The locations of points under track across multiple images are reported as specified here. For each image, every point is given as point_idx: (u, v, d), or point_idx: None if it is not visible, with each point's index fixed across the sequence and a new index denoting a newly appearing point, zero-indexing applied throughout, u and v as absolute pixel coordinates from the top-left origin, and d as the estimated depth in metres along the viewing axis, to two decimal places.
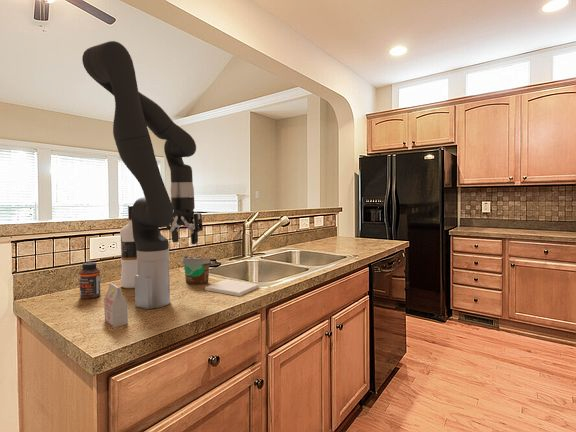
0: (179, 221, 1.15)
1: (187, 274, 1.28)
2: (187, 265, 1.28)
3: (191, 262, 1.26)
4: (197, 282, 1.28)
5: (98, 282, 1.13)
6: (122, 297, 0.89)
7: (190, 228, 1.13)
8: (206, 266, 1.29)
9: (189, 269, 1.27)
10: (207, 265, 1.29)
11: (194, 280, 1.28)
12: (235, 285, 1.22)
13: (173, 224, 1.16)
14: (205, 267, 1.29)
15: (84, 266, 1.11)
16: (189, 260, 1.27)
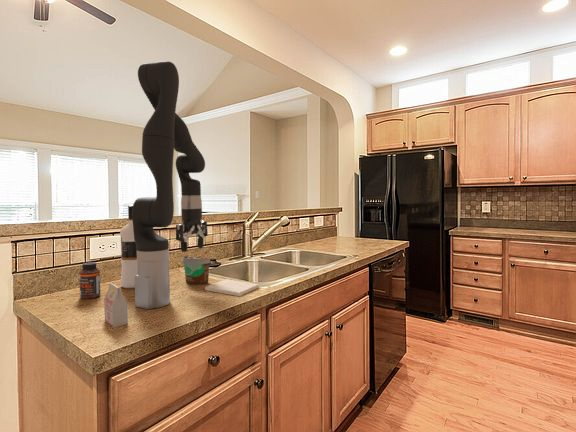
0: (192, 230, 1.27)
1: (187, 274, 1.28)
2: (187, 265, 1.28)
3: (191, 262, 1.26)
4: (197, 282, 1.28)
5: (98, 282, 1.13)
6: (122, 297, 0.89)
7: (202, 234, 1.32)
8: (206, 266, 1.29)
9: (189, 269, 1.27)
10: (207, 265, 1.29)
11: (194, 280, 1.28)
12: (235, 285, 1.22)
13: (189, 234, 1.25)
14: (205, 267, 1.29)
15: (84, 266, 1.11)
16: (189, 260, 1.27)
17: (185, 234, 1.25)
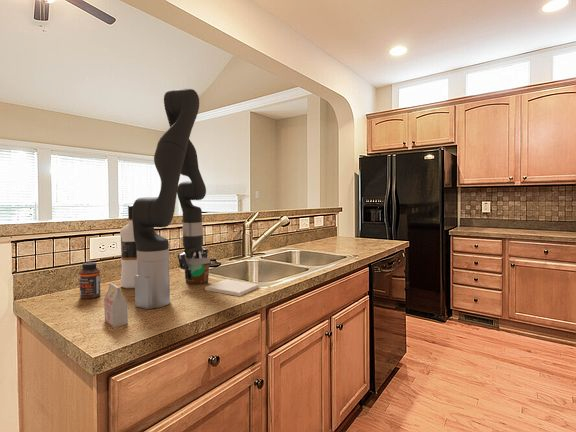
0: None
1: None
2: (187, 265, 1.28)
3: (191, 262, 1.26)
4: (197, 282, 1.28)
5: (98, 282, 1.13)
6: (122, 297, 0.89)
7: None
8: (206, 266, 1.29)
9: None
10: (207, 265, 1.29)
11: (194, 280, 1.28)
12: (235, 285, 1.22)
13: None
14: (205, 267, 1.29)
15: (84, 266, 1.11)
16: (189, 260, 1.27)
17: None
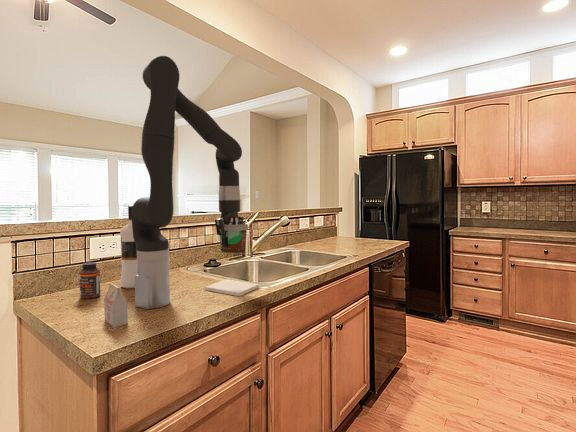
0: None
1: None
2: None
3: (228, 228, 1.18)
4: (234, 250, 1.19)
5: (98, 282, 1.13)
6: (122, 297, 0.89)
7: None
8: (243, 233, 1.20)
9: None
10: (244, 232, 1.21)
11: (231, 248, 1.19)
12: (235, 285, 1.22)
13: None
14: (243, 234, 1.20)
15: (84, 266, 1.11)
16: (226, 226, 1.18)
17: None
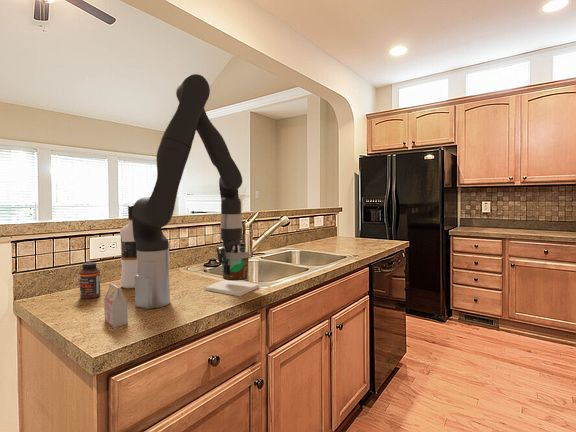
0: None
1: None
2: None
3: (230, 256, 1.18)
4: (236, 278, 1.20)
5: (98, 282, 1.13)
6: (122, 297, 0.89)
7: None
8: (245, 261, 1.21)
9: None
10: (246, 260, 1.21)
11: (233, 276, 1.19)
12: (235, 285, 1.22)
13: None
14: (245, 262, 1.20)
15: (84, 266, 1.11)
16: (228, 254, 1.19)
17: None
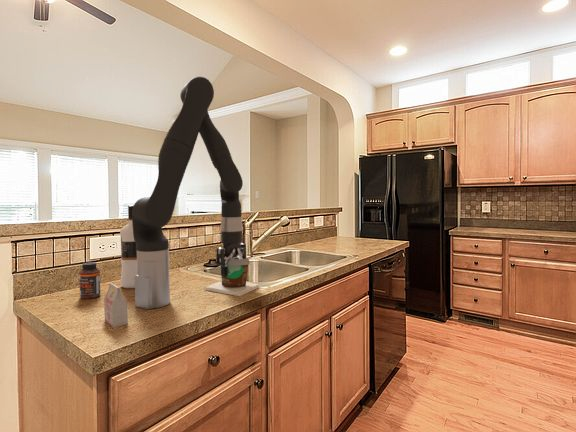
0: None
1: None
2: None
3: (230, 262, 1.18)
4: (235, 285, 1.19)
5: (98, 282, 1.13)
6: (122, 297, 0.89)
7: (241, 258, 1.24)
8: (245, 268, 1.20)
9: None
10: (246, 267, 1.20)
11: (232, 282, 1.19)
12: None
13: (230, 258, 1.18)
14: (244, 268, 1.20)
15: (84, 266, 1.11)
16: None
17: (225, 258, 1.18)
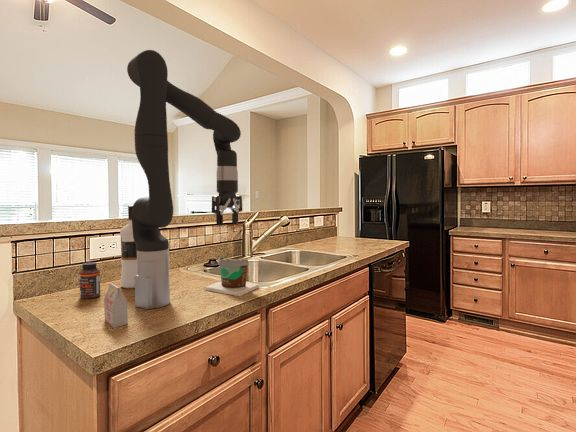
0: None
1: (224, 277, 1.19)
2: (224, 267, 1.19)
3: (229, 264, 1.17)
4: (235, 285, 1.19)
5: (98, 282, 1.13)
6: (122, 297, 0.89)
7: (237, 209, 1.25)
8: (244, 268, 1.20)
9: (226, 272, 1.18)
10: (245, 267, 1.20)
11: (231, 283, 1.19)
12: None
13: (225, 206, 1.19)
14: (243, 269, 1.20)
15: (84, 266, 1.11)
16: (226, 262, 1.18)
17: (221, 207, 1.19)
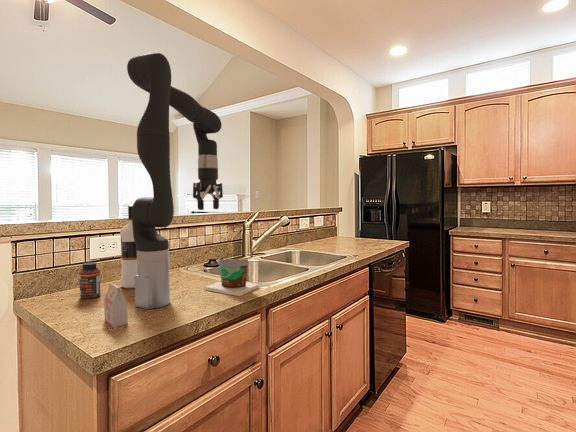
0: (208, 189, 1.30)
1: (224, 277, 1.19)
2: (224, 267, 1.19)
3: (229, 264, 1.17)
4: (235, 285, 1.19)
5: (98, 282, 1.13)
6: (122, 297, 0.89)
7: (217, 195, 1.34)
8: (244, 268, 1.20)
9: (226, 272, 1.18)
10: (245, 267, 1.20)
11: (231, 283, 1.19)
12: None
13: (206, 192, 1.28)
14: (243, 269, 1.20)
15: (84, 266, 1.11)
16: (226, 262, 1.18)
17: (202, 192, 1.28)
